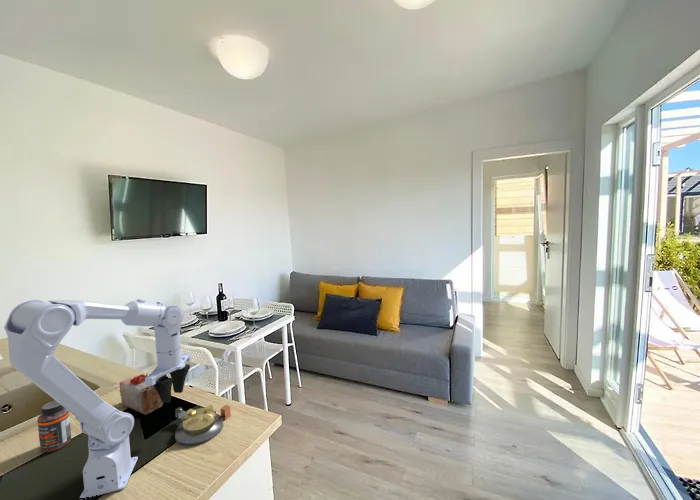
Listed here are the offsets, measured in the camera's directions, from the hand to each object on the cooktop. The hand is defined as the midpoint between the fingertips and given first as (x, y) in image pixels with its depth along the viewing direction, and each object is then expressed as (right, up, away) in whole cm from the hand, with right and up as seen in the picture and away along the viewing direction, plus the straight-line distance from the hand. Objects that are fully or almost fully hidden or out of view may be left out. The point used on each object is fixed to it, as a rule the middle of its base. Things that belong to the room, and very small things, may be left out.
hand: (172, 396), depth 83 cm
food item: (-18, -10, +14) cm, 25 cm away
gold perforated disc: (+4, -9, +3) cm, 10 cm away
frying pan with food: (+7, -10, +3) cm, 13 cm away
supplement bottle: (-29, -12, -3) cm, 31 cm away
